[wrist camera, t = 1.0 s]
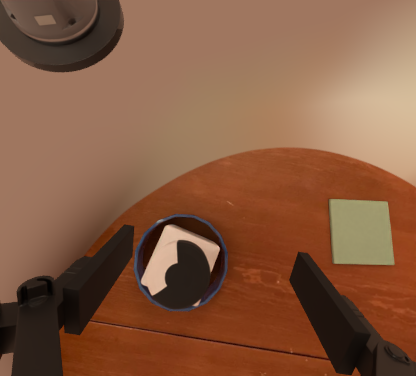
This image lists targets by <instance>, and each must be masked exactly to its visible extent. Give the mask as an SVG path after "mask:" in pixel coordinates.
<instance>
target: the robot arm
mask: <svg viewBox="0 0 416 376" xmlns="http://www.w3.org/2000/svg"><path fill="white" fill-rule="evenodd" d="M1 2H2V4H3V6H4V8H5V10H6V12H7V14H8V15H9V17H10V18H11V20H12V21H13V23H14V24H15V25H16V26H17V27H18V28H19V30H20V31H21V32H22V33H23V34H24V35H25V36H27V37H28V38H30V39H31V40H33V41H35V42H37V43H40V44H44V45H50V46H62V45H68V44H72V43H75V42H77V41H79V40H81V39H83V38H84V37H86V36H87V35H88V34H89V33H90V32H91V31H92V30H93V29H94V27H95V26H96V24H97V22H98V19H99V13H100V8H99V3H98V0H1ZM133 237H134V226H131V225H124V226H123V227H122V228H121V229H120V230H119V231H118V232H117V233H116V234H115V235H114V236H113V237H112V238H111V239H110V240H109V241H108V242H107V243H106V244H105V245H104V246H103V247H102V248H101V249H100V250H99V251H98V252H97V253H96V254H95V255H94V256H93V257H86V256H84V257H82V258H80V259H79V260H77V261H75V262H74V263H73V264H72V265H71V266H70V268H68V269H67V270H66V271H65V272H64V273H62V274H61V275H60V276H59V277H58V278H57V279H56V280H54V278H52V277H50V276H39V277H35V278H32V279H30V280H27V281H26V282H24V283H23V284H22V285H20V286H19V287H18V290H17V298H18V302H12V303H4V304H1V303H0V359H1V357H2V354H7V353H12V352H14V355H13V365H12V375H11V376H63V371H62V359H61V348H60V337H59V330H60V329H61V328H62V326H63V325H64V330H65V333H69V334H76V335H80V334H81V333H82V331H83V330H84V328H85V327H86V325H87V324H88V322H89V321H90V319H91V318H92V316H93V315H94V313H95V312H96V310H97V309H98V307H99V306H100V304H101V303H102V301H103V300H104V298H105V297H106V295H107V294H108V292H109V291H110V289H111V288H112V286H113V285H114V283H115V282H116V280H117V279H118V277H119V276H120V274H121V272H122V271H123V269H124V268H125V266H126V265H127V263H128V262H129V260H130V259H131V257H132V252H133ZM289 281H290V283H291V285H292V287H293V289H294V291H295V293H296V295H297V297H298V299H299V301H300V303H301V305H302V307H303V309H304V311H305V312H306V314H307V316H308V318H309V320H310V322H311V324H312V326H313V328H314V330H315V332H316V334H317V336H318V338H319V340H320V342H321V344H322V346H323V348H324V350H325V351H326V353H327V355H328V357H329V359H330V361H331V363H332V365H333V367H334V369H335V371H336V373H339V374H346V375H352V373H353V371H354V369H355V367H356V368H357V369H358V371H359V373H360V374H361V376H416V362H414V361H411V359H410V358H409V357H408V355H407V354H406V353H405V352H403V351H402V350H401V349H400V348H399V347H397V346H396V345H394V344H392V343H390V342H388V341H385V340H383V339H382V337H381V336H380V335H379V334H378V332H377V331H376V330H375V329H374V328H373V326H372V325H371V324H370V323H369V322H368V320H367V319H366V318H364V315H363V314H362V313H361V312H359V309H358V308H357V307H356V306H355V305H354V303H353V302H352V301H350V300H349V299H348V298H347V297H346V296H344V295H340V294H339V292H338V291H337V290H336V289H335V287H334V286H333V285H332V283H331V282H330V281H329V280H328V278H327V277H326V276H325V275H324V273H323V272H322V271H321V269H320V268H319V267H318V266H317V264H316V263H315V262H314V261H313V259H312V258H311V257H310V255H309V254H308V253H303V252H298V254H297V257H296V261H295V264H294V267H293V270H292V273H291V276H290V279H289Z"/></svg>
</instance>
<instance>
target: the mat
mask: <svg viewBox="0 0 416 376" xmlns="http://www.w3.org/2000/svg"><path fill="white" fill-rule="evenodd" d="M329 215H330V232H331V248H332V263H334V264H372V265H395V264H394V255H393V246H392V237H391V228H390V219H389V210H388V202H384V201H362V200H341V199H329Z"/></svg>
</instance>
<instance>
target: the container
mask: <svg viewBox="0 0 416 376" xmlns="http://www.w3.org/2000/svg"><path fill="white" fill-rule="evenodd" d="M219 251H220V248H219V246H218V245H217V244H216V243H215V242H214V241H212V240H210V239H207V238H205V237H203V236H200V235H198V234H196V233H193V232H191V231H188V230H186V229H184V228H181V227H179V226H177V225H174V224H171V225H167V226H165V228H164V230H163V232H162V235H161V237H160V239H159V241H158V243H157V246H156V248H155V250H154V252H153V255H152V257H151V259H150V261H149V264H148V266H147V268H146V270H145V273H144V275H143V277H142V279H141V284H143V285H145V286H147V287H148V289H149V291H150V293H151V295H152V296H153V298H154V299H155V300H156V301H157V302H158V303H159V304H161V305H162V306H164V307H167V308H170V309H185V308H188V307H190V306H198V305H199V302H200V300H201V298H202V297H203V296H204V294H205V293H206V291H207V289H208V286H209V283H210V277H211V271H212V269H213V266H214V264H215V261H216V258H217V256H218V253H219Z"/></svg>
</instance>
